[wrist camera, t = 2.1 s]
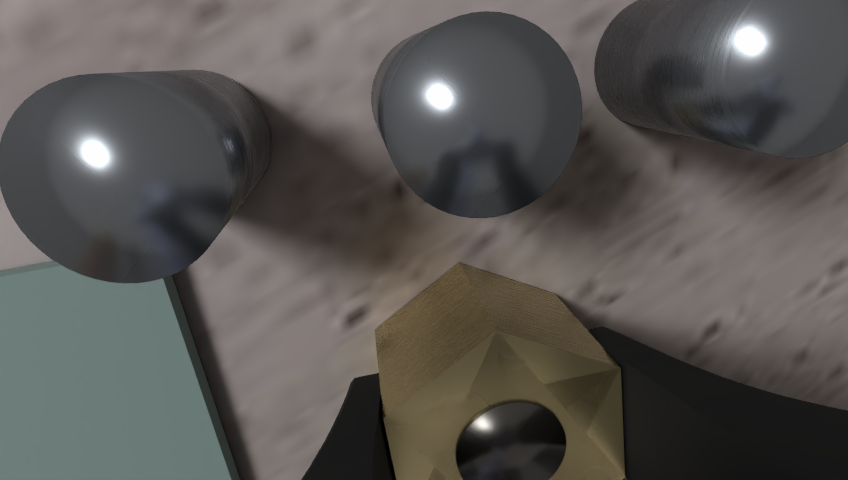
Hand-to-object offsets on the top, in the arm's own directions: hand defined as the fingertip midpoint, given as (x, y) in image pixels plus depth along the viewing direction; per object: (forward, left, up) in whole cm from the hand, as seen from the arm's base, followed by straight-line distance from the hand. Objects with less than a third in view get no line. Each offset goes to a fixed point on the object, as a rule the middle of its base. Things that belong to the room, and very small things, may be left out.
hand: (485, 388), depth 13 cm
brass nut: (0, 0, -1) cm, 1 cm away
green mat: (0, +10, -1) cm, 10 cm away
